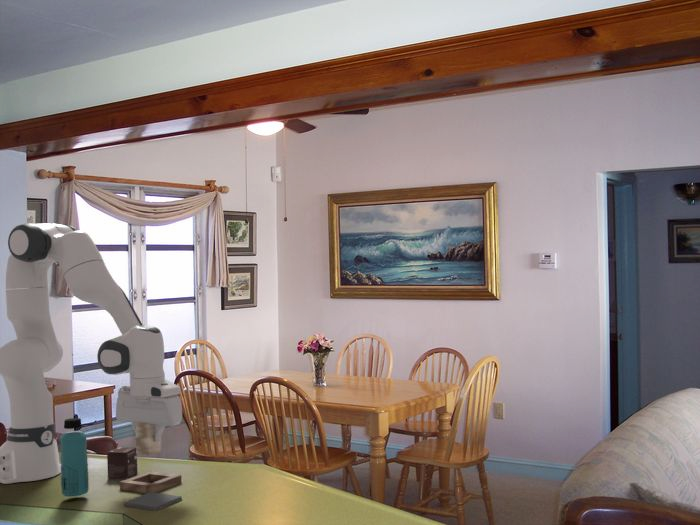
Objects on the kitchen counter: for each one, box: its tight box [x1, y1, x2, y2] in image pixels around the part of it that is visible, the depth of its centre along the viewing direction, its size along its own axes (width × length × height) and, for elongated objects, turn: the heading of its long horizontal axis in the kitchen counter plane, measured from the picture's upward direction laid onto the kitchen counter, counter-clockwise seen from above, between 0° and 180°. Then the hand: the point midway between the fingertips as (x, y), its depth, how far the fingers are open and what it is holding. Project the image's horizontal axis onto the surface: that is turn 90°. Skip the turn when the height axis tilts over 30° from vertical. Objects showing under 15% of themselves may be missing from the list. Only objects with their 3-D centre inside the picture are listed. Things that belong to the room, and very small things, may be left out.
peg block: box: [135, 422, 162, 456], centre depth 197 cm, size 4×4×8 cm
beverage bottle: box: [59, 417, 90, 498], centre depth 188 cm, size 6×7×20 cm
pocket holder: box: [119, 470, 182, 494], centre depth 197 cm, size 11×11×2 cm
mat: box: [123, 492, 183, 511], centre depth 182 cm, size 10×9×1 cm
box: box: [106, 447, 138, 480], centre depth 209 cm, size 6×6×7 cm
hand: (148, 440), depth 197 cm, fingers closed on peg block, 4 cm apart
